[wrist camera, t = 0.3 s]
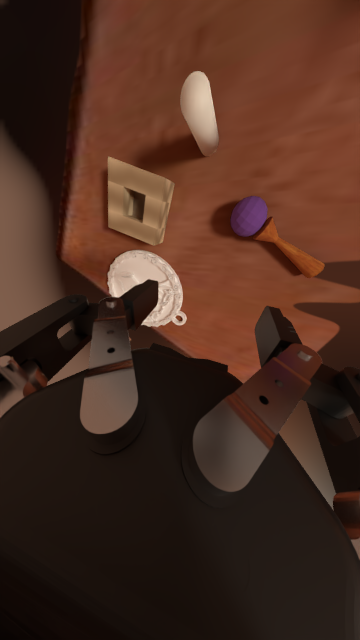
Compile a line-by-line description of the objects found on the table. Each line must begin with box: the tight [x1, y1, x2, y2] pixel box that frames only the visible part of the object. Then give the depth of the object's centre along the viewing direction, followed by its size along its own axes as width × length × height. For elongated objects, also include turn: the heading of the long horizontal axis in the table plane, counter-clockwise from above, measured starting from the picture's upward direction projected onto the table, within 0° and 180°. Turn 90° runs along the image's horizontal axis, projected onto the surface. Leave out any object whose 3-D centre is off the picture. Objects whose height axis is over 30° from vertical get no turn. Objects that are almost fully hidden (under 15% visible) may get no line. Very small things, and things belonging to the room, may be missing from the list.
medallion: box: [107, 250, 187, 327], centre depth 45 cm, size 24×27×2 cm
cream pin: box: [180, 71, 219, 156], centre depth 21 cm, size 3×3×12 cm
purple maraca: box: [231, 196, 324, 278], centre depth 28 cm, size 6×6×20 cm
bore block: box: [108, 157, 175, 245], centre depth 31 cm, size 11×11×5 cm
